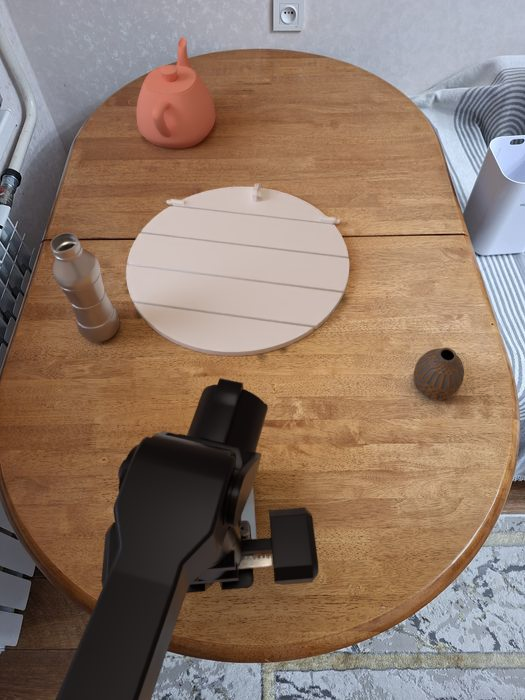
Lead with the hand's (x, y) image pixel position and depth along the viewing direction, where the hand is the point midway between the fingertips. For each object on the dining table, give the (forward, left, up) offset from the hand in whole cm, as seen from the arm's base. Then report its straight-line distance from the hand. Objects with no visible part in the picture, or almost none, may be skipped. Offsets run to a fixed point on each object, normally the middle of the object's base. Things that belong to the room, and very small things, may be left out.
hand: (219, 572), depth 56 cm
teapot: (+97, +7, -13) cm, 98 cm away
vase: (+27, -32, -13) cm, 44 cm away
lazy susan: (+55, -4, -13) cm, 57 cm away
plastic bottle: (+42, +19, -13) cm, 48 cm away
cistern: (+10, +1, -13) cm, 16 cm away
